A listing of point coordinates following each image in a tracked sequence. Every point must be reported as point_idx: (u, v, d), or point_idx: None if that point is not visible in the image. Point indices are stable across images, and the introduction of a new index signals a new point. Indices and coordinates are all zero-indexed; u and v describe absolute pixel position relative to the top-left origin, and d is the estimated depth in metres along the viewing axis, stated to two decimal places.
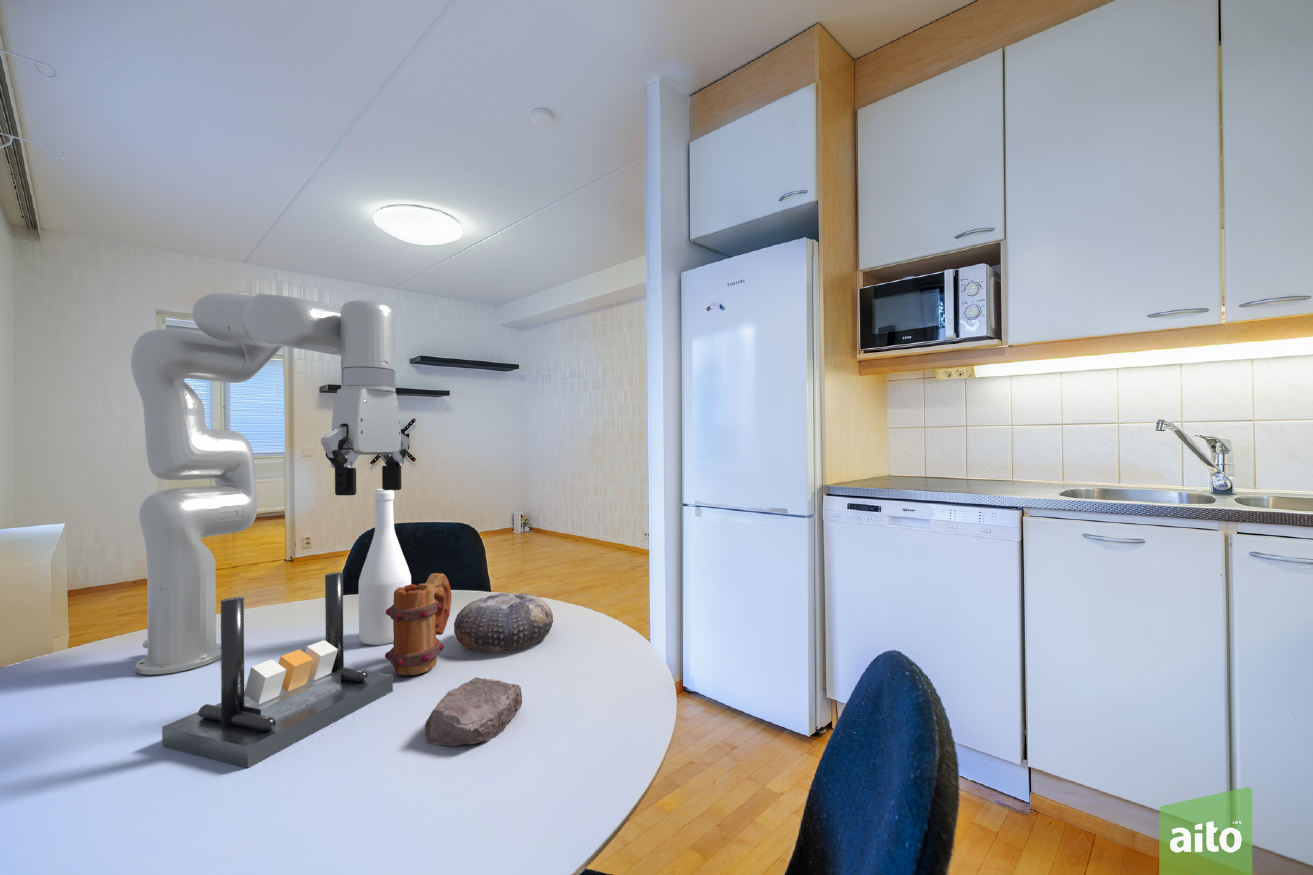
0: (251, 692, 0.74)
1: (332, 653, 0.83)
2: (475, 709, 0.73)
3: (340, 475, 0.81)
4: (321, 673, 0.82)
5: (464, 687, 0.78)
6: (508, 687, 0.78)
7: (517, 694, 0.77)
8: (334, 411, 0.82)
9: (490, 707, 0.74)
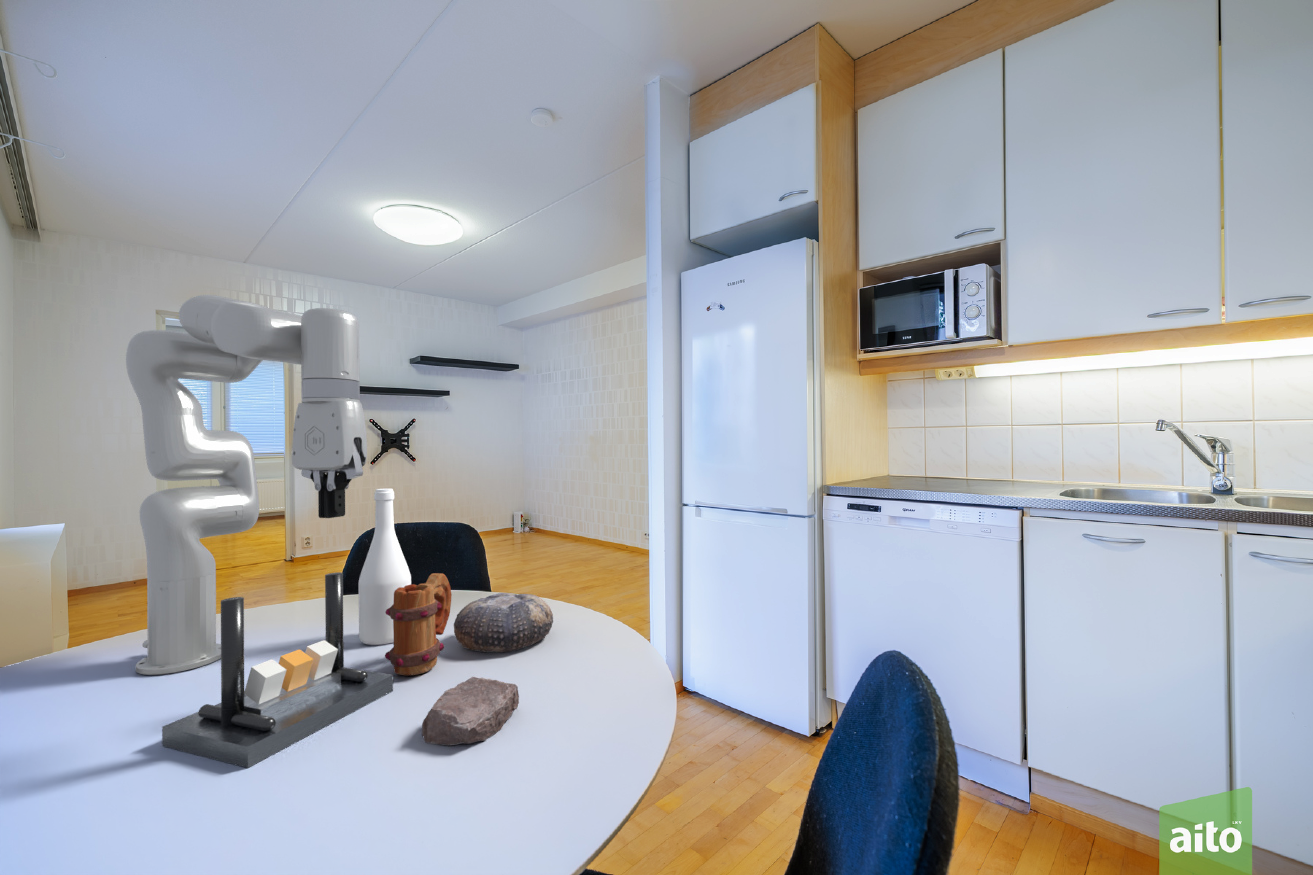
0: (251, 692, 0.74)
1: (332, 653, 0.83)
2: (472, 708, 0.73)
3: (338, 497, 0.82)
4: (321, 673, 0.82)
5: (461, 686, 0.78)
6: (505, 686, 0.79)
7: (514, 693, 0.78)
8: (345, 424, 0.79)
9: (487, 706, 0.74)
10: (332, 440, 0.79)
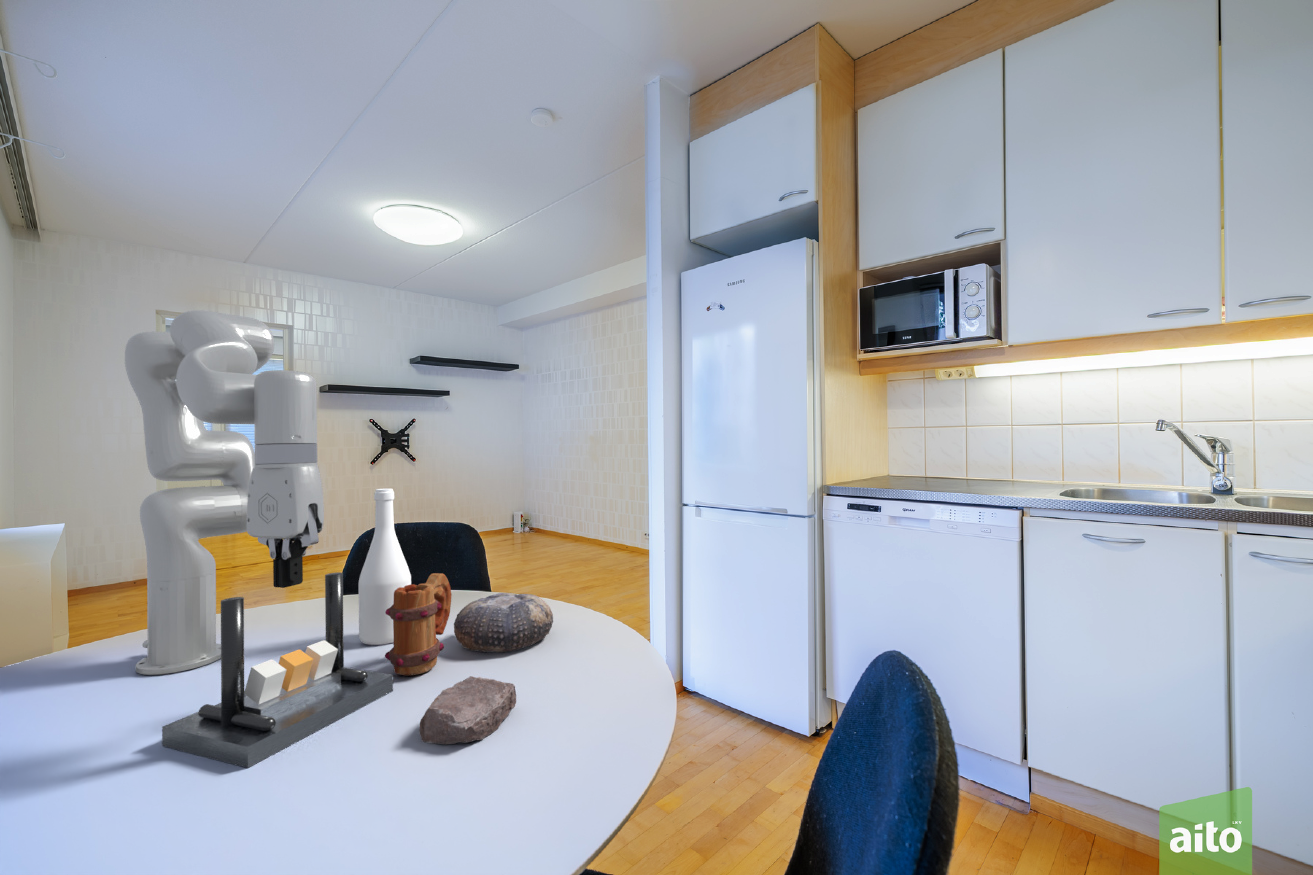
0: (251, 692, 0.74)
1: (332, 653, 0.83)
2: (469, 707, 0.73)
3: (294, 565, 0.79)
4: (321, 673, 0.82)
5: (459, 686, 0.79)
6: (502, 686, 0.79)
7: (511, 693, 0.78)
8: (298, 491, 0.76)
9: (485, 705, 0.74)
10: (285, 508, 0.76)
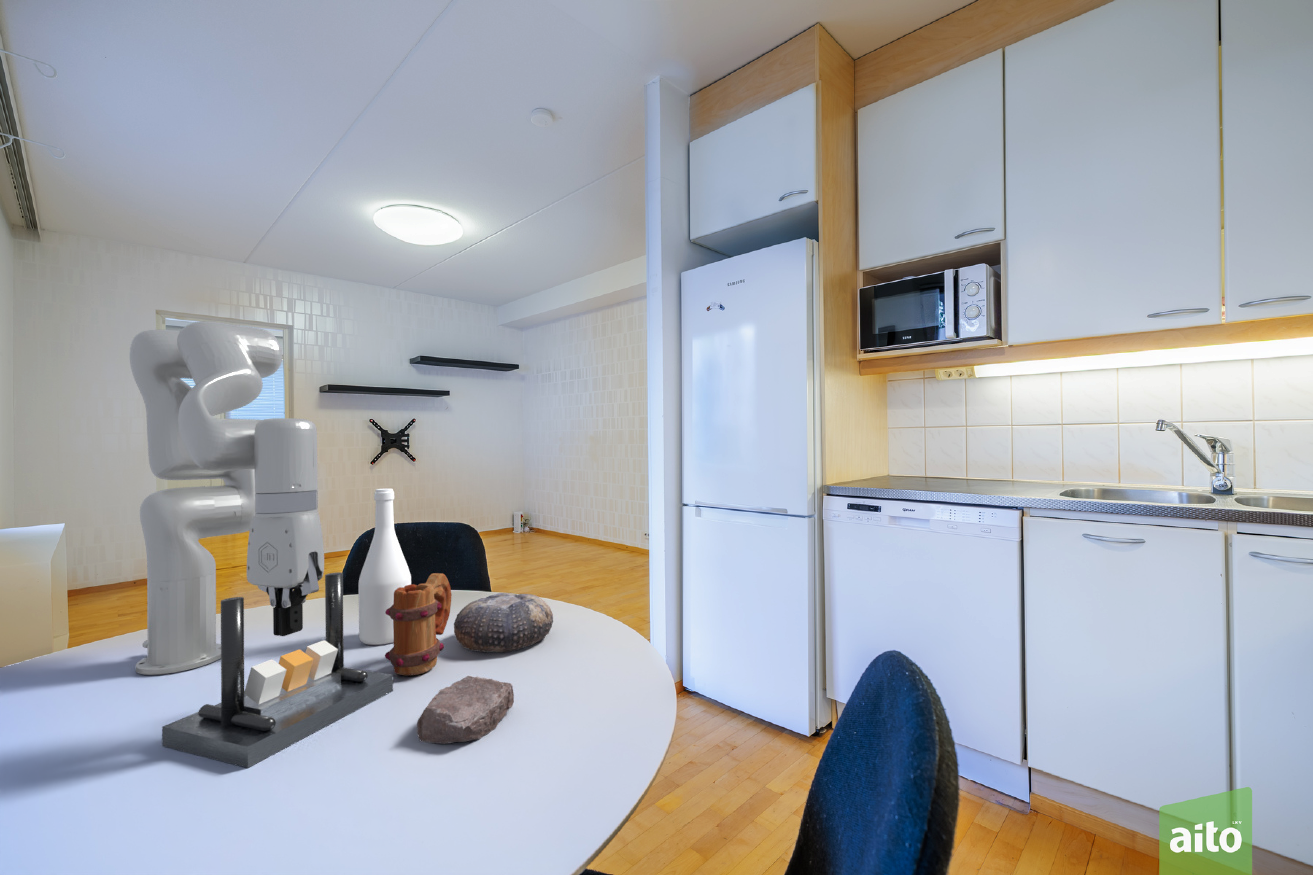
0: (251, 692, 0.74)
1: (332, 653, 0.83)
2: (467, 707, 0.73)
3: (294, 613, 0.79)
4: (321, 673, 0.82)
5: (457, 685, 0.79)
6: (500, 685, 0.79)
7: (509, 692, 0.78)
8: (298, 540, 0.76)
9: (482, 705, 0.75)
10: (285, 558, 0.76)
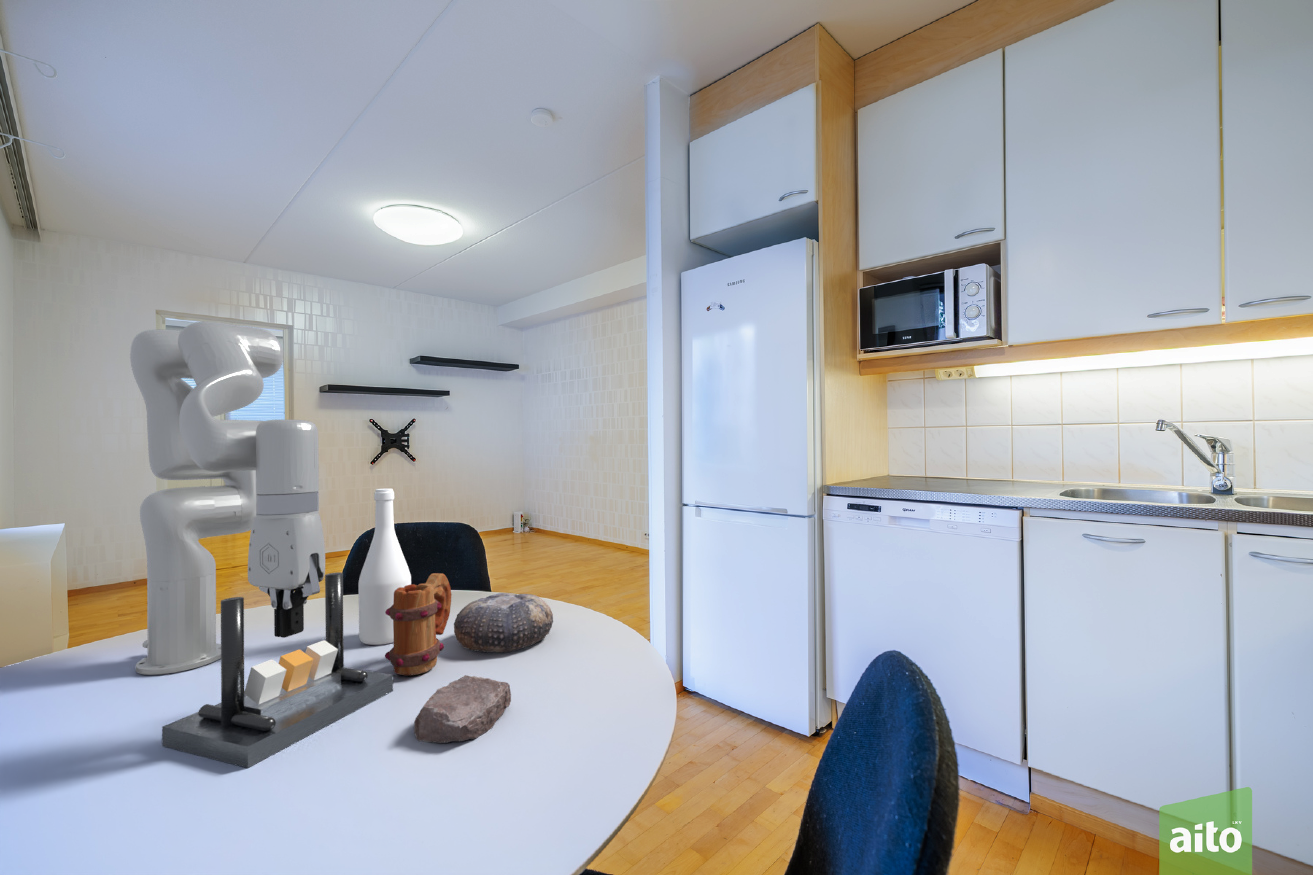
0: (251, 692, 0.74)
1: (332, 653, 0.83)
2: (464, 706, 0.74)
3: (295, 614, 0.79)
4: (321, 673, 0.82)
5: (454, 684, 0.79)
6: (497, 685, 0.79)
7: (506, 692, 0.78)
8: (299, 542, 0.76)
9: (479, 704, 0.75)
10: (286, 559, 0.76)
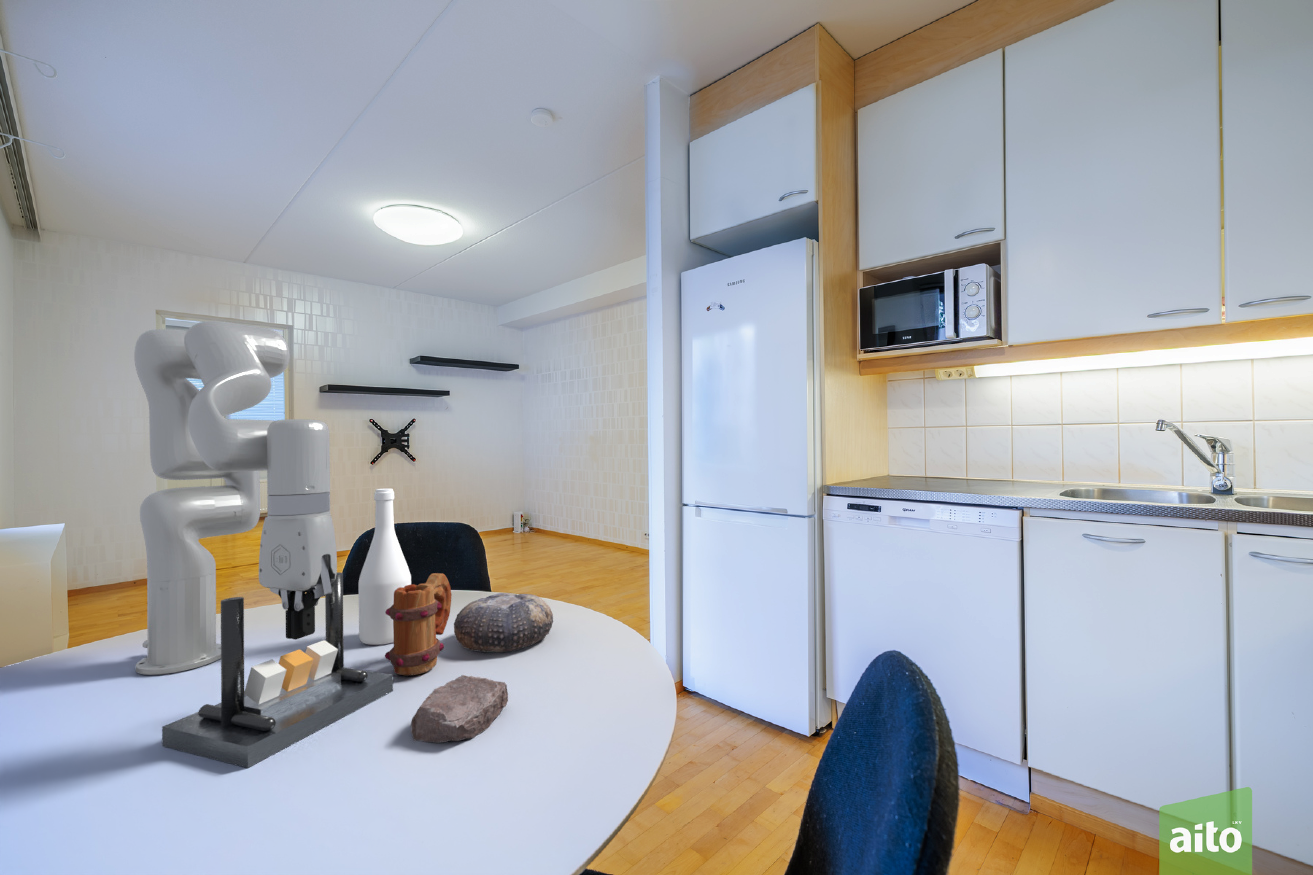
0: (251, 692, 0.74)
1: (332, 653, 0.83)
2: (460, 706, 0.74)
3: (306, 616, 0.78)
4: (321, 673, 0.82)
5: (451, 684, 0.79)
6: (494, 684, 0.79)
7: (503, 691, 0.78)
8: (311, 543, 0.75)
9: (476, 704, 0.75)
10: (298, 560, 0.75)
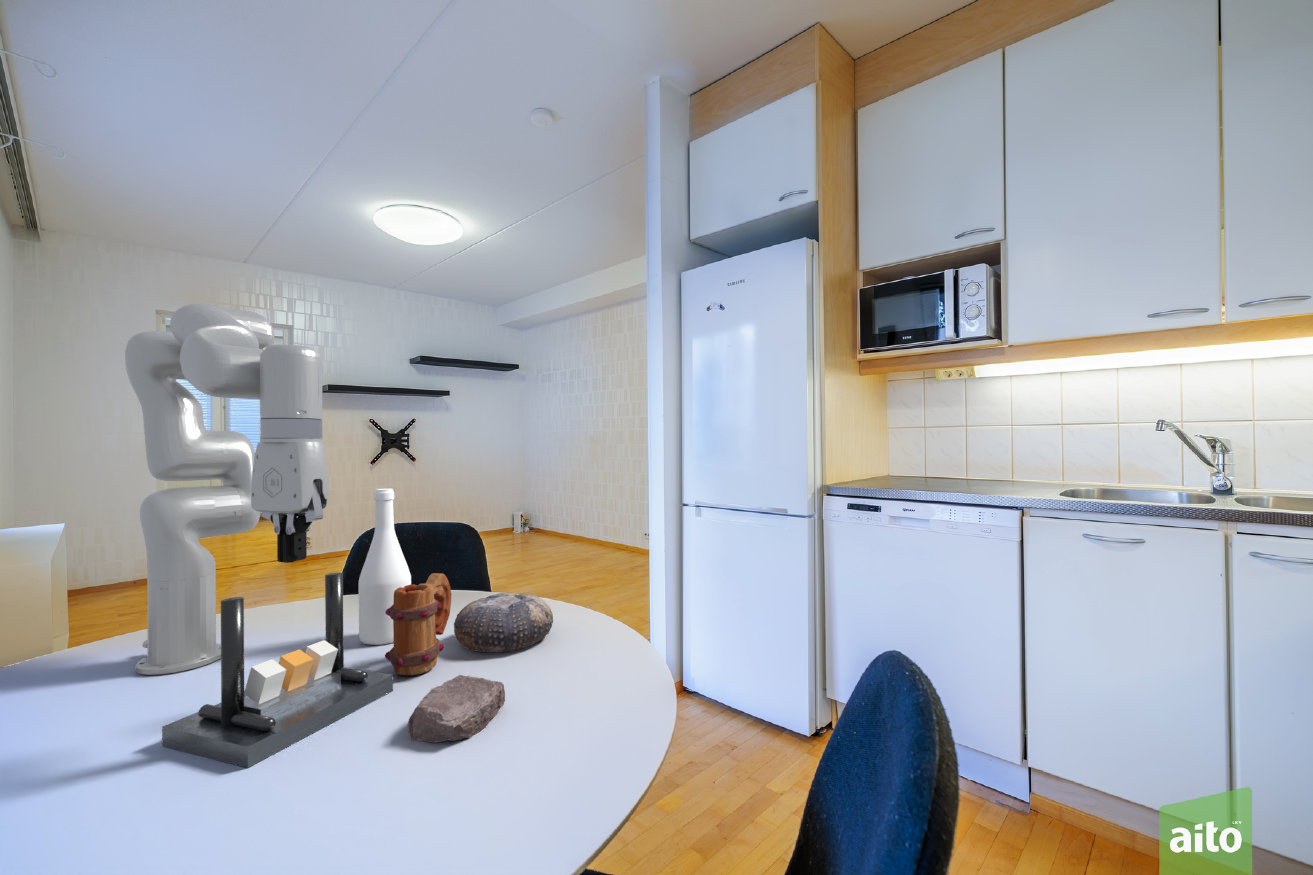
0: (251, 692, 0.74)
1: (332, 653, 0.83)
2: (458, 706, 0.74)
3: (298, 541, 0.79)
4: (321, 673, 0.82)
5: (448, 684, 0.79)
6: (491, 684, 0.79)
7: (500, 691, 0.79)
8: (303, 466, 0.76)
9: (473, 704, 0.75)
10: (290, 483, 0.76)
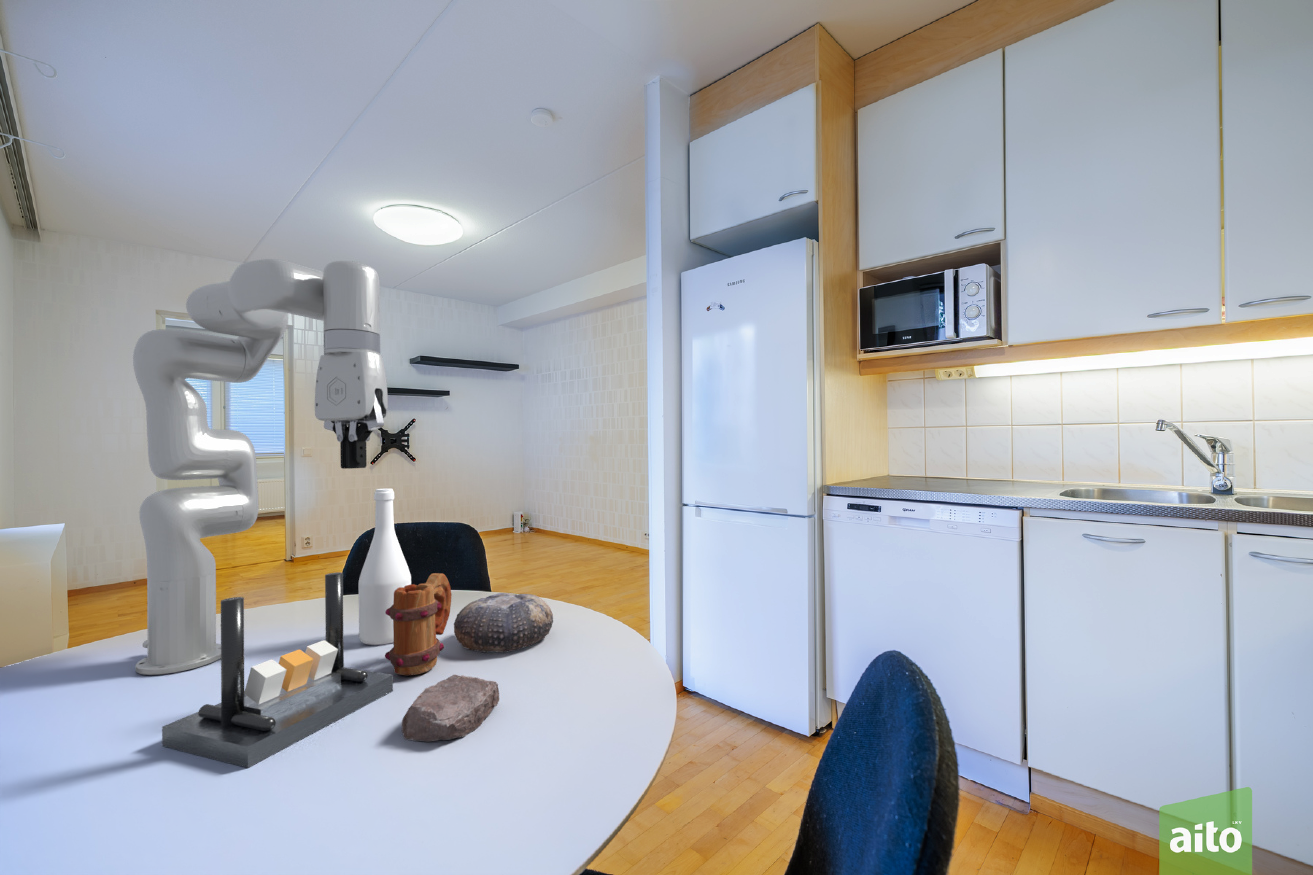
0: (251, 692, 0.74)
1: (332, 653, 0.83)
2: (451, 705, 0.74)
3: (359, 448, 0.83)
4: (321, 673, 0.82)
5: (442, 684, 0.79)
6: (485, 684, 0.80)
7: (494, 691, 0.79)
8: (366, 374, 0.80)
9: (467, 703, 0.75)
10: (354, 390, 0.80)
